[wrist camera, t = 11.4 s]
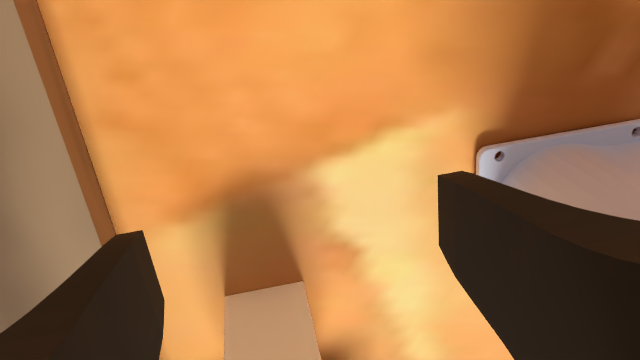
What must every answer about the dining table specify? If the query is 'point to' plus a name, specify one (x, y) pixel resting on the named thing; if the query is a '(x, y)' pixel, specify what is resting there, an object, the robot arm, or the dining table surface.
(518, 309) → the robot arm
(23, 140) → the walnut plank
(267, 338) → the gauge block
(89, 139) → the dining table surface
